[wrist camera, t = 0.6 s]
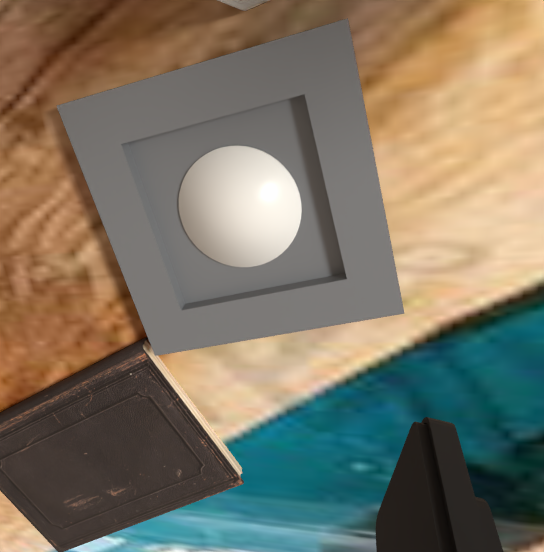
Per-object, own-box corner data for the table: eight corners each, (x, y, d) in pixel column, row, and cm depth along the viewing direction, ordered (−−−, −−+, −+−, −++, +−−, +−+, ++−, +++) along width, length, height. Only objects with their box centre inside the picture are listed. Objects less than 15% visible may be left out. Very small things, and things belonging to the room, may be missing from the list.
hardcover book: (247, 465, 49) (243, 484, 47) (70, 534, 56) (59, 553, 54) (148, 333, 44) (139, 346, 42) (-31, 426, 51) (-47, 441, 49)
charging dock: (347, 20, 33) (347, 18, 31) (401, 301, 40) (404, 313, 38) (70, 103, 37) (56, 105, 35) (163, 343, 44) (154, 355, 42)
